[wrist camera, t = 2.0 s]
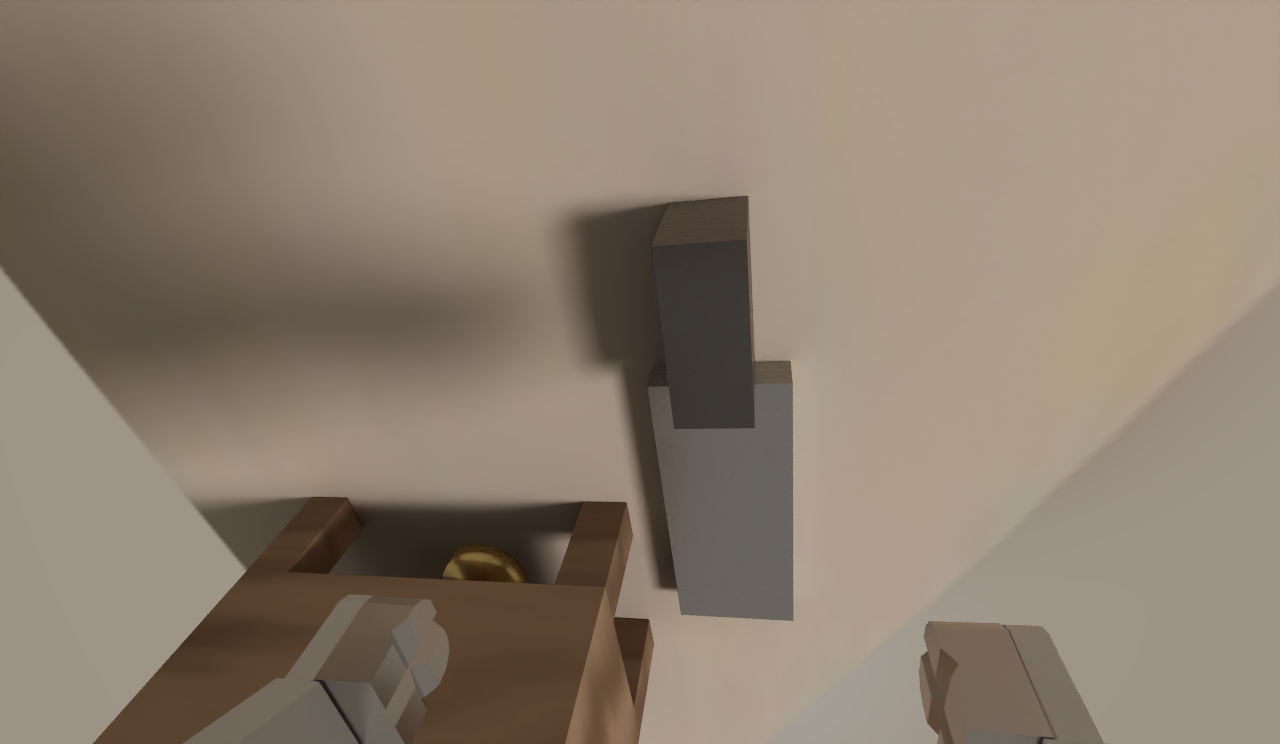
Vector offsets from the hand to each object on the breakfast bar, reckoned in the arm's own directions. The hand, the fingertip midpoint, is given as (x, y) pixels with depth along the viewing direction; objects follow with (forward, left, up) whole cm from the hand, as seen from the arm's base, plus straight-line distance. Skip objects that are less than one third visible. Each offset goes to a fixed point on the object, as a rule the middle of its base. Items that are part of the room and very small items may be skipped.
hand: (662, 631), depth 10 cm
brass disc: (+19, 0, -13) cm, 23 cm away
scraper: (+4, +4, -13) cm, 14 cm away
